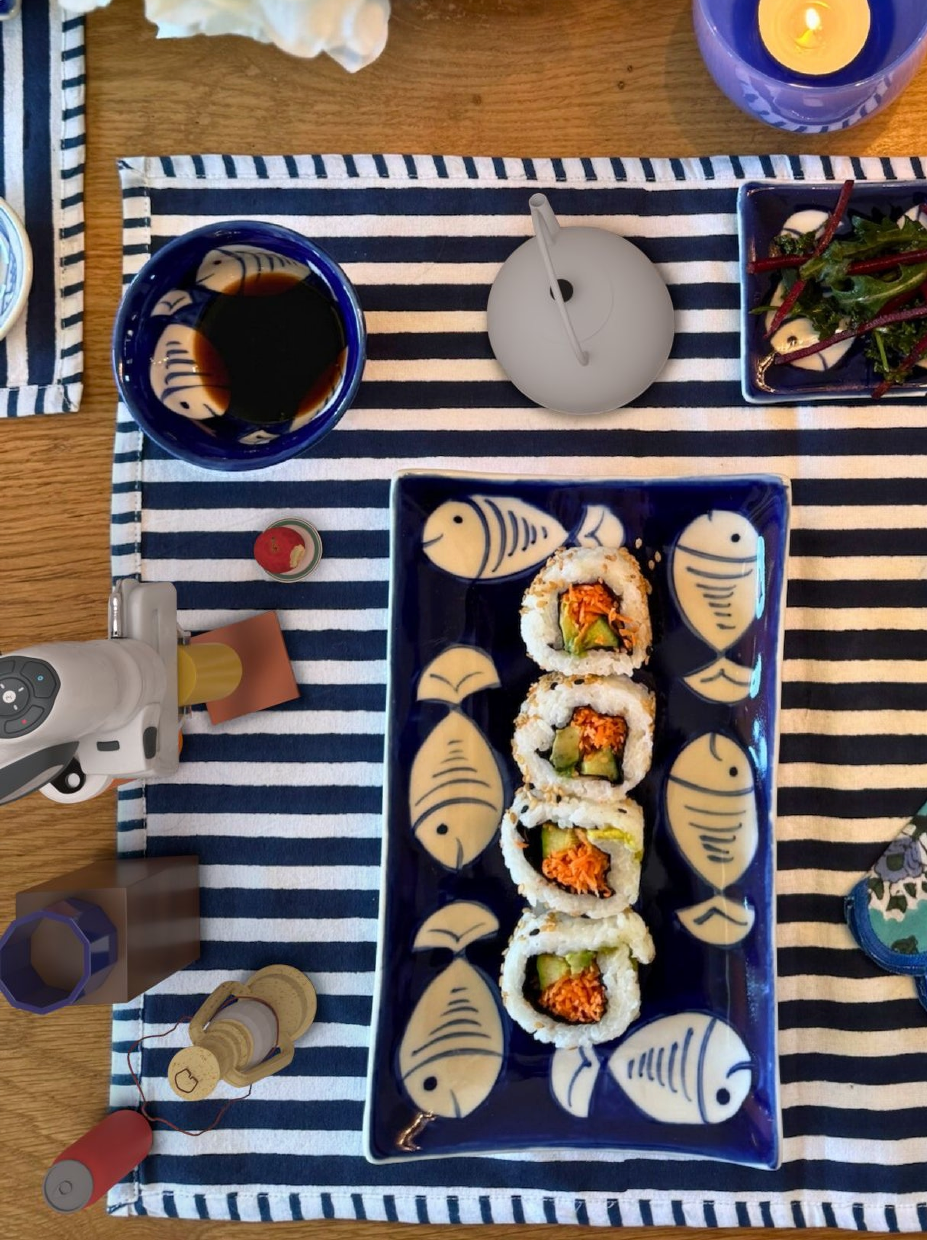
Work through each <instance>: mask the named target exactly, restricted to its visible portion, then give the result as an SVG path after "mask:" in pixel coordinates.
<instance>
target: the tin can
mask: <svg viewBox="0 0 927 1240" xmlns="http://www.w3.org/2000/svg"><path fill="white" fill-rule="evenodd" d="M177 658H178V707H181V706H186V705H191V706H193V705H198V704H202V703H206V702H209V701H215V700H220V699H223V698H225V697H227V696H229V695H230V694H231V693H232V692H233V691H234V690H235V689H236V688H237V686H238V685H239V683H240V680H241V677H242V664H241V661H240V658H239V656H238V655H237V653H236V652H235V651H234V650H233V649H232V648H231V647H229V646H227V645H225V644H222V643H200V644H190V645H177Z"/></svg>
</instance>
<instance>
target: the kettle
mask: <svg viewBox="0 0 927 1240" xmlns="http://www.w3.org/2000/svg"><path fill="white" fill-rule="evenodd" d="M528 204H529V209H530V213H531V214H530V216H531V222H532V226H533V230H534V234H535V235H534V236H532V237H531V238H529V239H527V240H526V241H525V242H524V243H522V244H521V245H519V246H518V247H517V248H516V249H515V250H514V251H513V252H512V253H511V254H510V255H509V256H508V257H507V258H506V260H505V261H504V263H503V264H502V266H501V267H500V268H499V270H498V272H497V274H496V275H495V278H494V280H493V283H492V285H491V289H490V292H489V294H488V299H487V300H488V301H487V307H486V327H487V333H488V339H489V343H490V346H491V348H492V351H493V354H494V356H495V358H496V360H497V362H498V364H499V366H500V367H501V370H502V371H503V372H504V373H505V375H506V376H507V377H508V379H509V380H510V381H511V383H512V384H513V385H514V386H515V387H516V388H517V390H519V391H520V392H521V393H522V394H524V395H525V396H526V397H527V398H528V399H530V400H532V401H533V402H534V403H535V404H538V405H539V406H542V407H543V408H546V409H549V410H551V411H555V412H558V413H561V414H564V415H565V414H567V415H574V416H591V415H598V414H603V413H608V412H610V411H613V410H616V409H619V408H621V407H623V406H625V405H628V404H629V403H631V402H632V401H633V400H635V399H637V398H639V397H640V396H641V395H642V394H643V393H644V392H645V391H646V390H648V389H649V387H650V386H651V385H652V384H653V383H654V382H655V381H656V380H657V378H658V377H659V375H660V374H661V372H662V371H663V369H664V367H665V365H666V363H667V361H668V359H669V357H670V353H671V350H672V347H673V343H674V337H675V323H676V322H675V311H674V305H673V302H672V299H671V298H672V297H671V295H670V292H669V289H668V287H667V285H666V283H665V281H664V279H663V278H662V275H661V274H660V273H659V271H658V269H657V268H656V267H655V265H654V263H653V262H652V261H651V260H650V259H649V258H648V256H647V255H646V254H645V253H644V252H643V251H642V250H641V249H639V248H638V247H637V246H636V245H635V244H633V243H632V242H630V241H629V240H628V239H625V238H624V237H622V236H620V235H619V234H616V233H614V232H611V231H608V230H606V229H602V228H598V227H593V226H586V225H567V226H561V225H560V223H559V221H558V219H557V216H556V214H555V212H554V211H553V208H552V206H551V205H550V202H549V200H548V198H547V196H546V195H545V194H543V193H539V192H538V193H534V194H532V196H531V197H530V198H529V200H528Z"/></svg>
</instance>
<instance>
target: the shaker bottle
mask: <svg viewBox="0 0 927 1240" xmlns="http://www.w3.org/2000/svg"><path fill="white" fill-rule="evenodd" d="M178 736H179V756H180V755H181V752H182V748H183V744H184V743H183V742H184V739H183V733H182V730H181V729H180V730H179V732H178ZM137 780H138V779H115V778H111V777H109V776H108V775H89V774H85V773H84V772H83V771H82V769H81V765H80V760H79V756H78V751H76V753H75V755H74V756H73V758H72V759H71V761H70V763H69V764H68V766H67V767H66V769H65V770H64V771H63V772H62V773H60V774H59V775H58V776H57V777H56V778H55V779H53V780H52V781H51V782H49V783H48V784H47V785H45V786H44V787H42V788H40V789H39V790H38V791H39V792H40V793H41V794H42V795H43V796H45V797H47V798H48V799H50V800H51V801H54V802H57V803H61V804H76V803H80V802H85V801H89V800H92V799H94V798H96V797H98V796H100V795H101V794H103V793H104V792H107V791H109V790H110V791H111V790H113V789H115V788H118V787H121V786H124V785H126V784H129V783H132V782H135V781H137Z"/></svg>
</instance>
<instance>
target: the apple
mask: <svg viewBox="0 0 927 1240" xmlns="http://www.w3.org/2000/svg"><path fill="white" fill-rule="evenodd" d="M253 554H254V559H255V561H256V562H257V564H258V565H259V566H260V568H261V570H263V572H264V573H265V574H266V575H267V576H268V577H269V578H271V579H273V580H274V581H277V582H280V583H296V582H300V581H302V580H304V579H307V578H308V577H309V576H310V575H312V573H313V572H314V571H315V570H317V568H318V566H319V564H320V562H321V559H322V555H323V543H322V539H321V536H320V534H319V533H318V531H317V529H316V528H315V527H314V526H313V525H312V524H311V523H309V522H308V521H306V520H304V519H302V518H299V517H292V516H290V517H289V516H287V517H282V518H279V519H276V520H274V521H273V522H271V523H270V524H268V525H267V527H266V528H265V529H263V531H262V533H260V535H259V536H258V537H257V538H256V540H255V543H254V547H253Z"/></svg>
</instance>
